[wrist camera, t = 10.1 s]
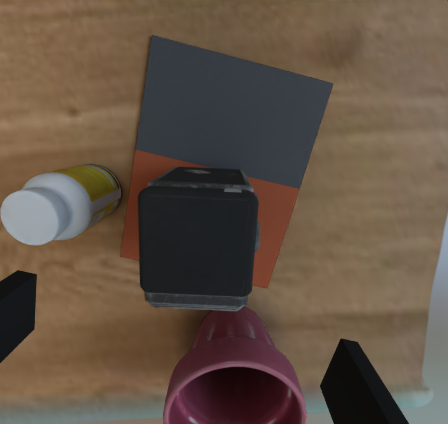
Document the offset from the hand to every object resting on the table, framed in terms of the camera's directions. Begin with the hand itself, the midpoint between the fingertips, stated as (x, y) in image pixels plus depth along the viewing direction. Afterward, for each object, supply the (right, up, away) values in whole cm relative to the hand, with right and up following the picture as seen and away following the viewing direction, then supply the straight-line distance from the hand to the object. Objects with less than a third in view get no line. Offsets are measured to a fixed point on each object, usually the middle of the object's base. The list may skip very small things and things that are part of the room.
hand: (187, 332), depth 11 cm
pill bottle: (-14, +8, +21) cm, 27 cm away
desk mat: (+1, +9, +21) cm, 23 cm away
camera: (0, +6, +22) cm, 22 cm away
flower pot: (+3, -12, +27) cm, 29 cm away
